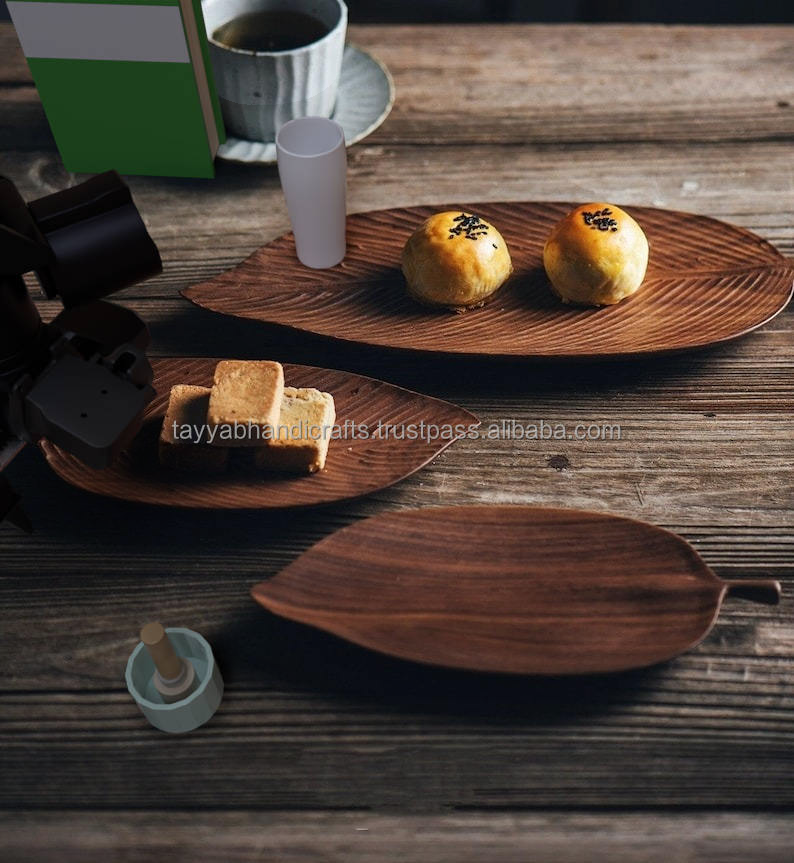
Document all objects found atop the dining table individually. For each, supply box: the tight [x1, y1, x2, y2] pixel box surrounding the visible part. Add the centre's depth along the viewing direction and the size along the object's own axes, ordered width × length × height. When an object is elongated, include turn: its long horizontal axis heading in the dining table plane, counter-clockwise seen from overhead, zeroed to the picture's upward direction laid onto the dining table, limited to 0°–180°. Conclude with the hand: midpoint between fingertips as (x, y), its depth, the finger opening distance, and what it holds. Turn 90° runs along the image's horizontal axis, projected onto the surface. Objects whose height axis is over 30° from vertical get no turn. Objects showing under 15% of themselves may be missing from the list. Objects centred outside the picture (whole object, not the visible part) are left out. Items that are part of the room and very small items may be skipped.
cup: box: [124, 627, 225, 734], centre depth 68 cm, size 6×6×5 cm
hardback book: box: [4, 0, 228, 179], centre depth 102 cm, size 18×7×24 cm, turn 85°
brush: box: [139, 621, 201, 704], centre depth 66 cm, size 3×3×10 cm
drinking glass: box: [274, 115, 348, 270], centre depth 94 cm, size 7×7×15 cm
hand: (69, 481), depth 67 cm, fingers open, 9 cm apart
